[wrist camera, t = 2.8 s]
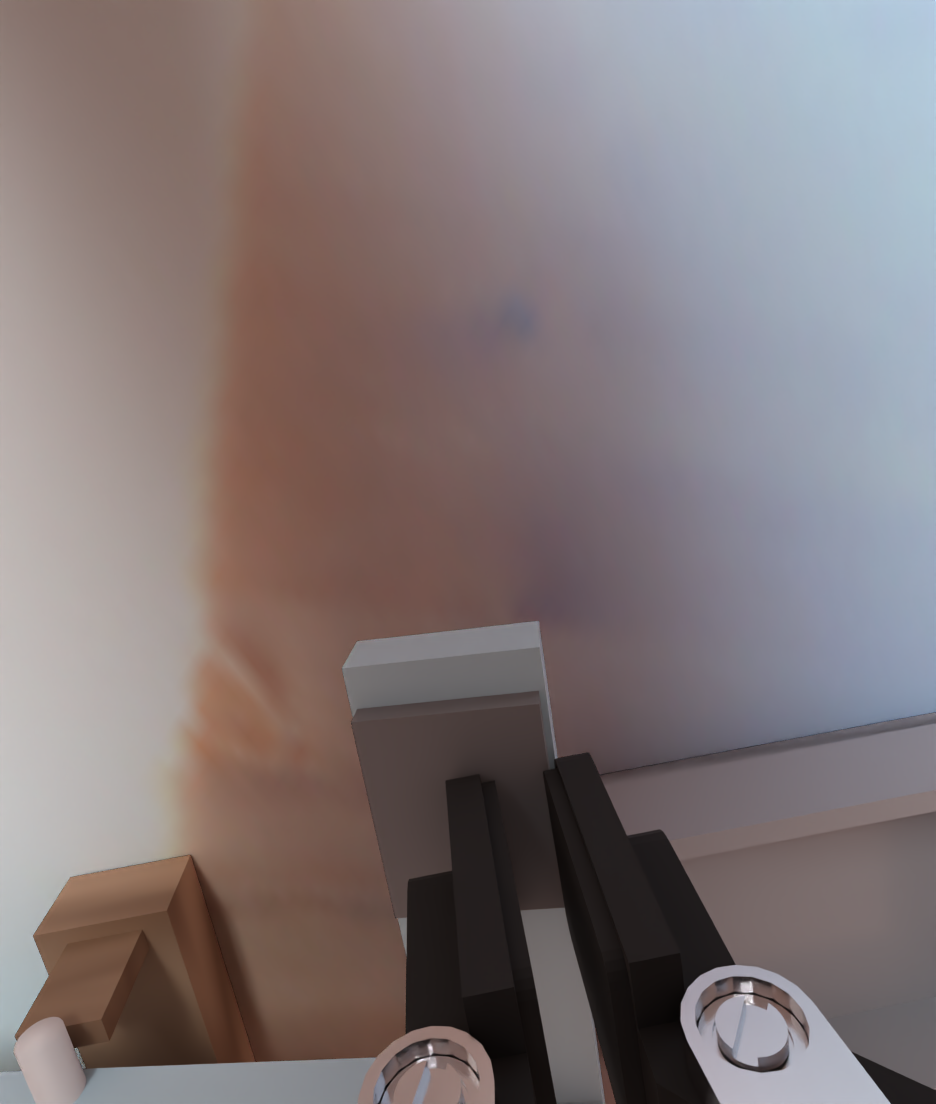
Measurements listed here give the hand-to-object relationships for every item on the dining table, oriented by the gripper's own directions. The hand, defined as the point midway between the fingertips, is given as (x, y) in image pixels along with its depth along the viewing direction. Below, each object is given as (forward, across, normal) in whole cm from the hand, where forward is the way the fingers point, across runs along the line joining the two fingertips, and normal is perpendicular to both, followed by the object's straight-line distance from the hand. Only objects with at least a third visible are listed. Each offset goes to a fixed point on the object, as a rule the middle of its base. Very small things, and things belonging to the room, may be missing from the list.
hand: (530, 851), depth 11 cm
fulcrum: (+8, +10, +9) cm, 16 cm away
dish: (+8, -8, +9) cm, 14 cm away
